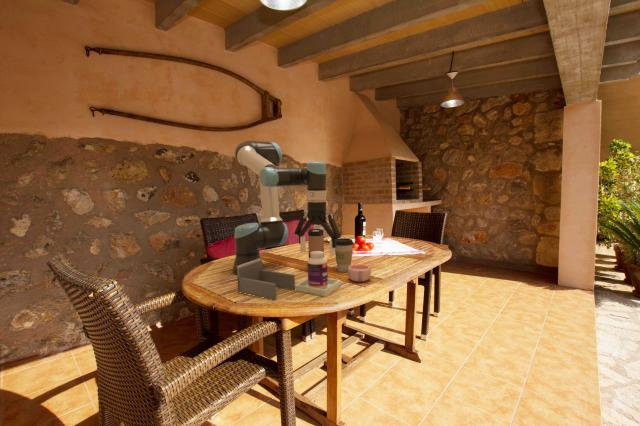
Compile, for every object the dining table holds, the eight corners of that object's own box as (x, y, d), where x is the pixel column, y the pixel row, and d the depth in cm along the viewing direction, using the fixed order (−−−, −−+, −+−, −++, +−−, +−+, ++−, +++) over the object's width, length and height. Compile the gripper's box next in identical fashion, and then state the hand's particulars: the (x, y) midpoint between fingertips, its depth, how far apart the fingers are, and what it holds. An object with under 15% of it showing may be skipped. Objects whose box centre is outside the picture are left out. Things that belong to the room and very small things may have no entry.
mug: (373, 283, 128) (372, 269, 128) (349, 284, 128) (349, 270, 127) (367, 274, 140) (366, 262, 140) (345, 275, 140) (345, 263, 139)
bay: (238, 292, 120) (236, 266, 119) (260, 282, 132) (259, 258, 131) (274, 300, 111) (273, 271, 110) (294, 289, 123) (294, 263, 122)
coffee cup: (332, 267, 153) (332, 238, 152) (351, 266, 154) (351, 237, 152) (335, 273, 143) (334, 242, 142) (355, 272, 144) (355, 241, 143)
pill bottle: (326, 291, 118) (325, 255, 117) (306, 290, 120) (305, 254, 119) (329, 284, 126) (328, 250, 125) (310, 283, 128) (309, 250, 126)
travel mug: (326, 268, 152) (325, 229, 150) (321, 272, 145) (320, 231, 143) (312, 267, 154) (311, 228, 152) (306, 271, 147) (305, 231, 145)
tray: (295, 291, 120) (295, 285, 120) (312, 281, 132) (312, 275, 132) (325, 296, 114) (325, 290, 114) (340, 285, 126) (340, 280, 125)
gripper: (285, 200, 122) (286, 252, 125) (341, 203, 110) (341, 259, 113) (295, 199, 129) (296, 248, 131) (349, 201, 117) (349, 255, 119)
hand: (317, 253), depth 122 cm, fingers open, 13 cm apart
